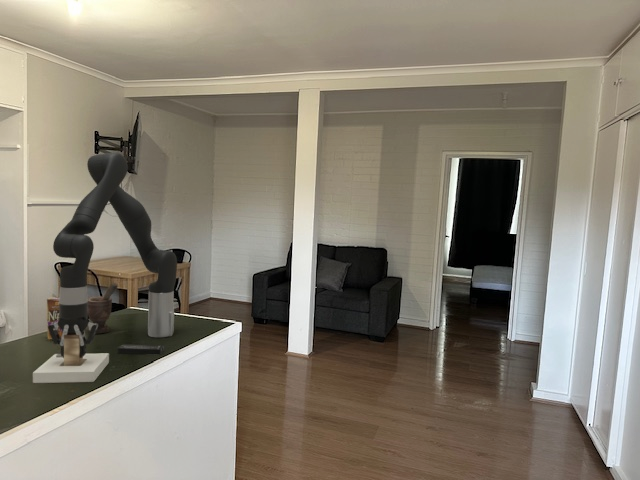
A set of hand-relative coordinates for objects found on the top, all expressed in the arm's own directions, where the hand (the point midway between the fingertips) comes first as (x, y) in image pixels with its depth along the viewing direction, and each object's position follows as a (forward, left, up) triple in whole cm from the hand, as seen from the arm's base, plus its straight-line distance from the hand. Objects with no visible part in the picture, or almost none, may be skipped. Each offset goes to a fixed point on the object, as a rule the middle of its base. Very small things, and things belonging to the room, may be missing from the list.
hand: (73, 356), depth 139 cm
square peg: (0, 0, -3) cm, 3 cm away
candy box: (+15, -33, -5) cm, 37 cm away
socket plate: (0, 0, -5) cm, 5 cm away
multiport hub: (-16, -18, -5) cm, 25 cm away
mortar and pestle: (+3, -43, -5) cm, 43 cm away
